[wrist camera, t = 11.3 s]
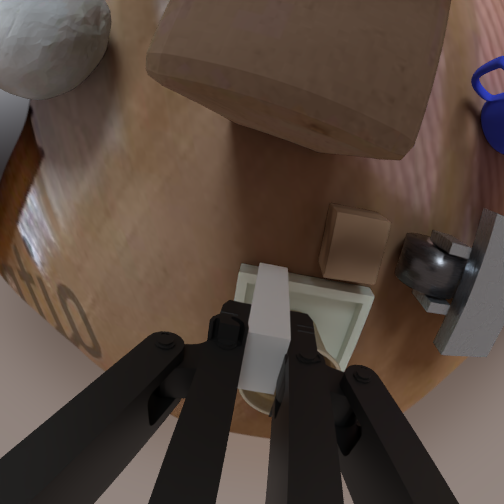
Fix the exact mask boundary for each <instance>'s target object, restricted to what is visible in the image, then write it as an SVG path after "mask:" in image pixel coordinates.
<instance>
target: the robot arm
mask: <svg viewBox="0 0 504 504" xmlns="http://www.w3.org/2000/svg"><path fill="white" fill-rule="evenodd" d="M237 388H239V389H244V390H249V391H255V392H261V393H267V394H273V395H274V392H275V389H276V396H275V399H274V402H273V405H272V408H271V411H270V413H269V417H271V416H272V424H271V438H270V454H269V466H268V480H267V491H266V502H265V504H344V501H343V490H342V481H341V473H342V475H343V477H344V480H345V483H346V485H347V488H348V490H349V492H350V495H351V497H352V500H353V502H354V504H459V503H458V501H457V500H456V498H455V496H454V495H453V493H452V491H451V490H450V488H449V486H448V485H447V483H446V481H445V480H444V478H443V477H442V475H441V473H440V471H439V470H438V468H437V466H436V465H435V463H434V462H433V460H432V459H431V457H430V455H429V454H428V452H427V451H426V449H425V447H424V446H423V444H422V442H421V441H420V439H419V438H418V436H417V435H416V433H415V431H414V430H413V428H412V427H411V425H410V424H409V422H408V421H407V419H406V417H405V416H404V414H403V413H402V411H401V410H400V408H399V407H398V405H397V404H396V402H395V401H394V399H393V398H392V396H391V395H390V393H389V391H388V390H387V388H386V387H385V385H384V384H383V382H382V381H381V379H380V378H379V376H378V375H377V374H376V373H375V372H374V371H373V370H371V369H370V368H368V367H366V366H362V365H352V366H349V367H348V368H346V370H345V372H343V371H340V370H337V369H334V368H332V367H329V366H328V365H326V364H325V359H324V357H323V356H322V355H321V354H320V353H319V352H318V351H317V344H316V338H315V331H314V325H313V320H312V319H311V318H310V316H309V315H308V314H306V313H300V312H295V311H290V306H289V284H288V268H286V267H281V266H276V265H271V264H265V263H260V264H259V269H258V274H257V279H256V284H255V289H254V294H253V299H252V304H247V303H242V302H237V301H232V300H229V301H228V302H226V303H225V304H223V307H222V309H221V312H220V314H218V315H216V316H213V317H212V318H211V319H210V323H209V331H208V339H207V341H206V342H204V343H200V344H184V341H183V340H182V338H181V337H180V336H178V335H176V334H174V333H171V332H162V331H161V332H156V333H153V334H151V335H149V336H148V337H147V338H146V339H144V340H143V341H142V342H141V343H140V344H138V345H137V346H136V347H135V348H133V349H132V350H131V351H130V352H129V353H127V354H126V355H125V356H124V357H123V358H121V359H120V360H119V361H118V362H117V363H115V364H114V365H113V366H112V367H110V368H109V369H108V370H107V371H106V372H104V373H103V374H102V375H101V376H100V377H98V378H97V379H96V380H95V381H94V382H92V383H91V384H90V385H89V386H88V387H87V388H85V389H84V390H83V391H82V392H80V393H79V394H78V395H77V396H75V397H74V398H73V399H72V400H71V401H69V403H67V404H66V405H65V406H63V407H62V408H61V409H60V410H59V411H57V412H56V413H55V414H54V415H53V416H51V417H50V418H49V419H48V420H46V421H45V422H44V423H43V424H42V425H40V426H39V427H38V428H37V429H36V430H34V431H33V432H32V433H31V434H30V435H28V436H27V437H26V438H25V439H24V440H22V441H21V442H20V443H19V444H17V445H16V446H15V447H14V448H13V449H11V450H10V451H9V452H8V453H7V454H5V455H4V456H3V457H2V458H1V459H0V504H94V503H95V502H96V501H97V499H98V498H99V497H100V496H101V495H102V494H103V493H104V492H105V490H106V489H107V488H108V487H109V486H110V485H111V484H112V482H113V481H114V480H115V479H116V478H117V477H118V476H119V474H120V473H121V472H122V471H123V470H124V468H125V467H126V466H127V465H128V464H129V463H130V461H131V460H132V459H133V458H134V457H135V456H136V454H137V453H138V452H139V451H140V450H141V448H142V447H143V446H144V445H145V444H146V442H147V441H148V440H149V439H150V437H151V436H152V435H153V434H154V433H155V431H156V430H157V429H158V428H159V426H160V425H161V424H162V423H163V422H164V421H165V419H166V418H167V417H168V416H169V414H170V413H171V412H172V411H173V410H174V408H175V407H176V406H177V405H178V403H179V402H180V400H181V398H186V399H185V402H184V405H183V408H182V410H181V413H180V416H179V419H178V422H177V424H176V427H175V430H174V432H173V435H172V438H171V441H170V444H169V446H168V449H167V452H166V455H165V458H164V461H163V463H162V466H161V469H160V472H159V475H158V478H157V480H156V483H155V486H154V489H153V492H152V494H151V497H150V500H149V503H148V504H215V503H216V498H217V493H218V488H219V483H220V478H221V472H222V467H223V462H224V457H225V452H226V447H227V441H228V436H229V431H230V426H231V420H232V415H233V410H234V404H235V399H236V394H237ZM340 470H341V471H340Z"/></svg>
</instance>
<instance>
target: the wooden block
mask: <svg viewBox="0 0 504 504" xmlns="http://www.w3.org/2000/svg"><path fill="white" fill-rule="evenodd" d="M450 4H451V0H170V2H169V4H168V6H167V8H166V10H165V12H164V14H163V16H162V18H161V21H160V23H159V25H158V27H157V30H156V32H155V34H154V36H153V39H152V41H151V44H150V46H149V49H148V51H147V58H146V71H147V73H148V75H149V76H150V77H152V78H153V79H154V80H156V81H157V82H158V83H160V84H161V85H162V86H165V87H167V88H169V89H171V90H173V91H175V92H177V93H179V94H181V95H183V96H185V97H187V98H189V99H191V100H193V101H195V102H197V103H199V104H201V105H203V106H205V107H206V108H208V109H210V110H212V111H214V112H216V113H218V114H220V115H221V116H223V117H225V118H227V119H229V120H230V121H232V122H234V123H236V124H239V125H243V126H246V127H249V128H252V129H255V130H258V131H261V132H264V133H267V134H270V135H273V136H276V137H279V138H281V139H284V140H287V141H290V142H292V143H295V144H298V145H300V146H303V147H306V148H308V149H311V150H313V151H316V152H319V153H331V154H341V155H350V156H359V157H367V158H375V159H386V160H401V159H402V158H403V157H404V156H405V155H406V154H407V153H408V152H409V151H410V149H411V148H412V147H413V146H414V144H415V141H416V138H417V135H418V132H419V129H420V126H421V123H422V120H423V117H424V113H425V110H426V107H427V103H428V100H429V97H430V93H431V89H432V86H433V82H434V78H435V75H436V71H437V67H438V63H439V59H440V54H441V50H442V46H443V41H444V36H445V31H446V26H447V21H448V15H449V10H450Z"/></svg>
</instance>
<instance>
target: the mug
mask: <svg viewBox="0 0 504 504" xmlns="http://www.w3.org/2000/svg"><path fill="white" fill-rule="evenodd" d="M498 68H502V69H503V70H504V56H500V57H498V58H496V59H493V60H491V61H489V62H488V63H486V64H484V65H482V66H481V67H480V68H478V69H477V70H476V72H475V73H474V74H473V77H472V80H471V83H472V86H473V88H474V90H475V91H476V93H477V94H478V95H479V96H480V97H481V98H483V99H484V100H486V102H485V104H484V106H483V108H482V113H481V124H482V129H483V132H484V135H485V137H486V139H487V141H488V142H489V144H490V145H491V146H492V147H493V148H494V149H495V150H496V151H498V152H499V153H501V154H504V93H501V94H497V95H491V94H490V93H488V92H487V91H486V90H485V89H484V88H483V86H482V85H481V83H480V81H479V78H480V77H481V76H482V75H484V74H486V73H488V72H490V71H492V70H495V69H498Z"/></svg>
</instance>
